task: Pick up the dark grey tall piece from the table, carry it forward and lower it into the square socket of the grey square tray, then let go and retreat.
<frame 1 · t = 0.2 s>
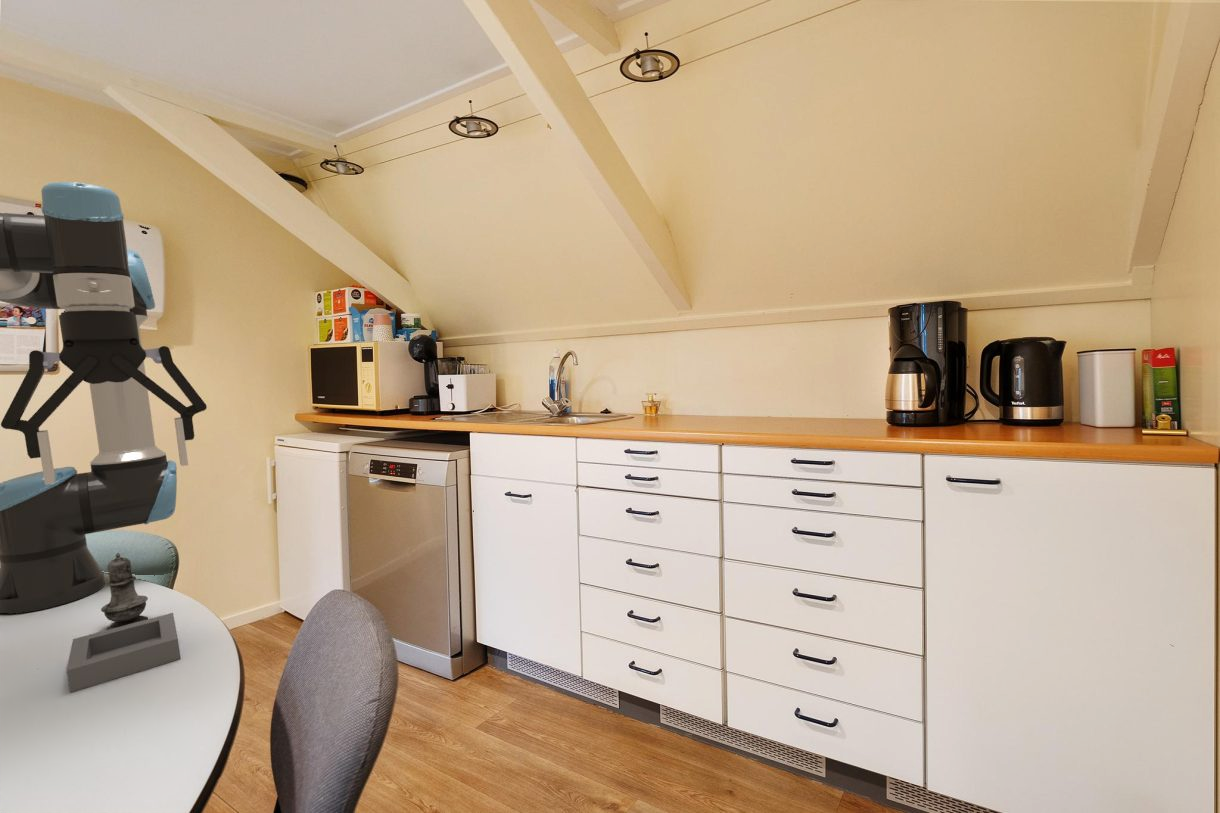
hand: (121, 473, 77), 27 cm above the table, fingers open, 13 cm apart
dark grey tall piece: (128, 625, 95), on the table
grey square tray: (127, 658, 84), on the table
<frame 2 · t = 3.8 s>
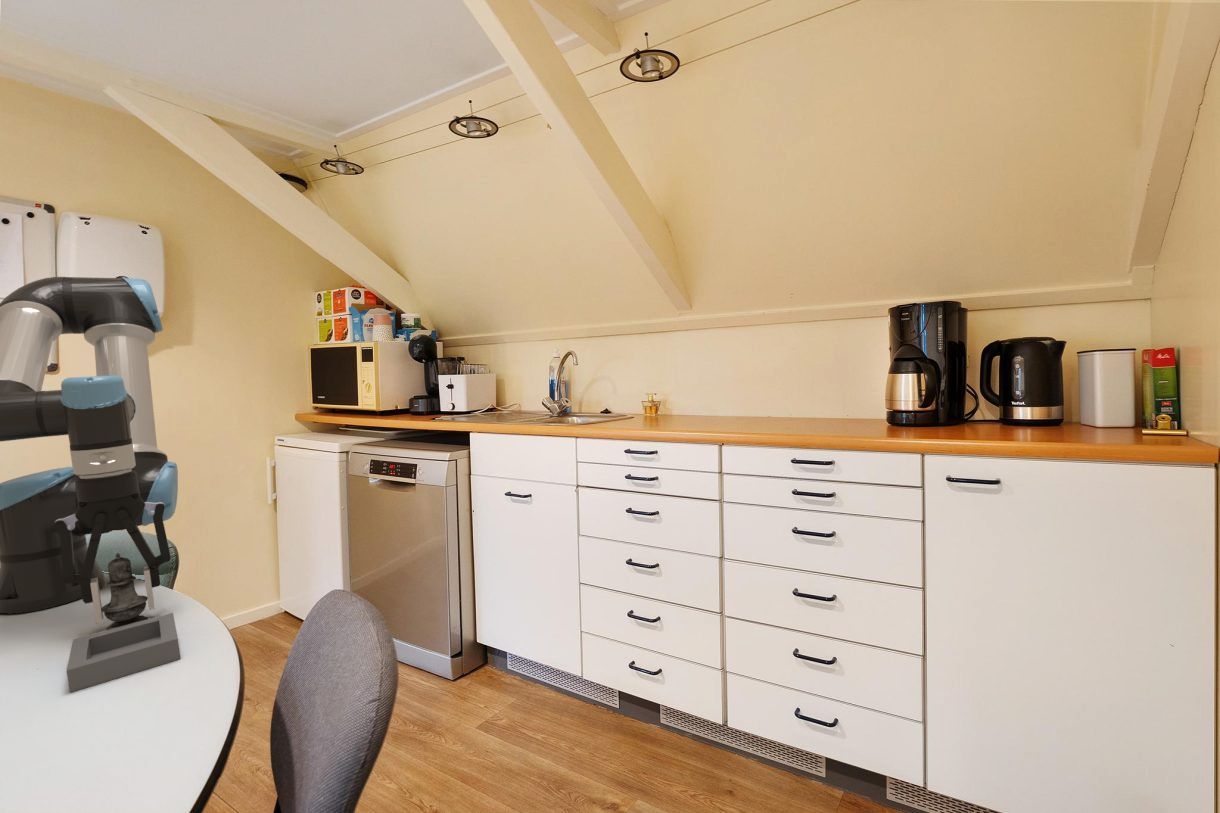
hand: (126, 613, 95), 2 cm above the table, fingers closed on dark grey tall piece, 6 cm apart
dark grey tall piece: (128, 625, 95), on the table, touching gripper
when the fingers open (4 cm above the table, at t = 9.6 s): dark grey tall piece drops 2 cm, resting on grey square tray.
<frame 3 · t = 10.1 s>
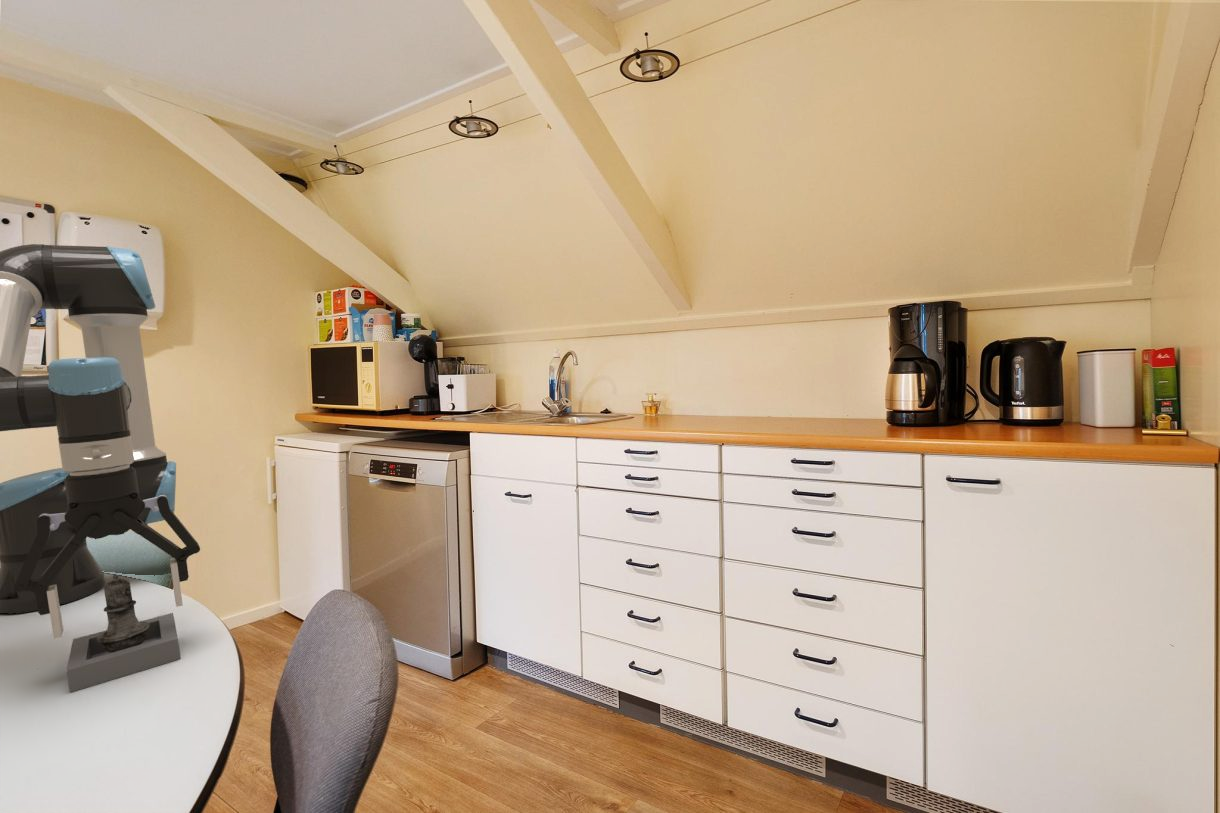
hand: (121, 618, 83), 6 cm above the table, fingers open, 12 cm apart
dark grey tall piece: (127, 656, 84), resting on grey square tray
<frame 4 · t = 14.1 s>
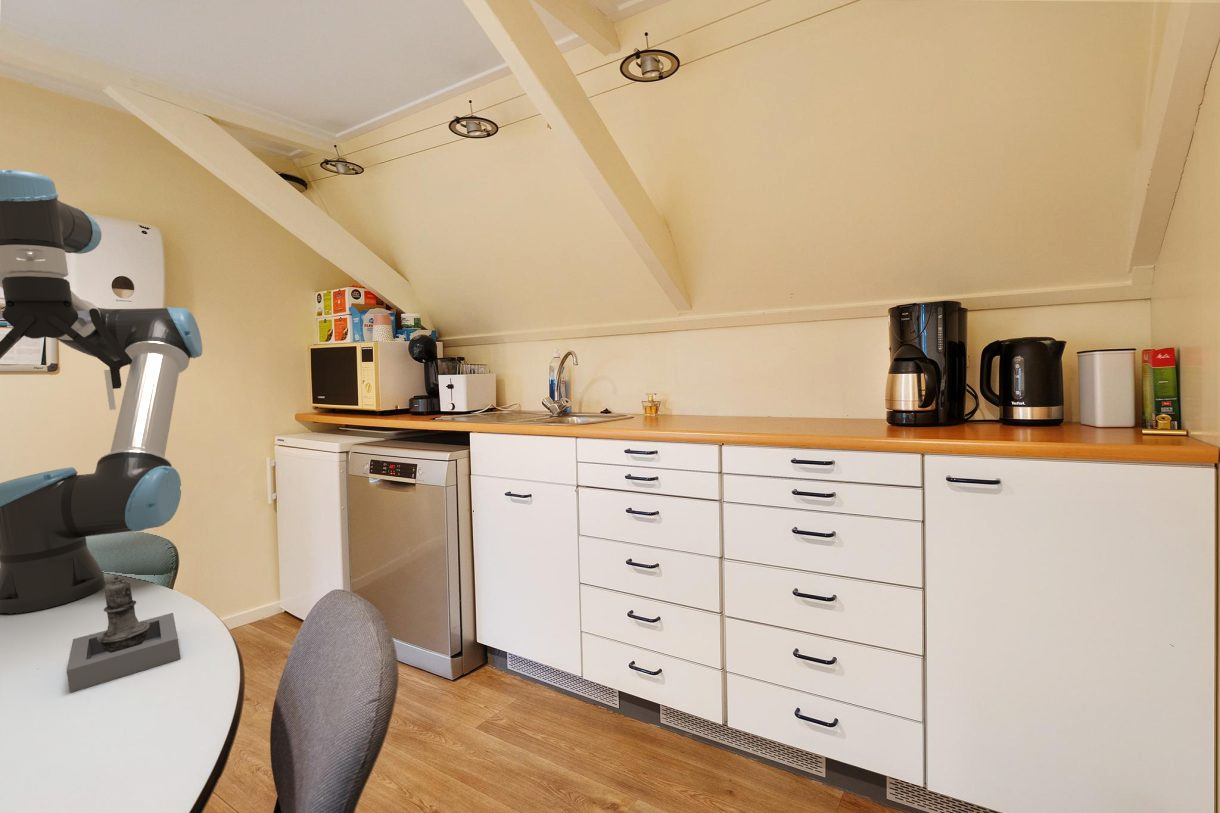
hand: (56, 414, 93), 35 cm above the table, fingers open, 13 cm apart
nothing on the table moved.
at the end: dark grey tall piece 0.0 cm from the grey square tray (horizontally); dark grey tall piece resting on grey square tray; dark grey tall piece tilted 0° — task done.
